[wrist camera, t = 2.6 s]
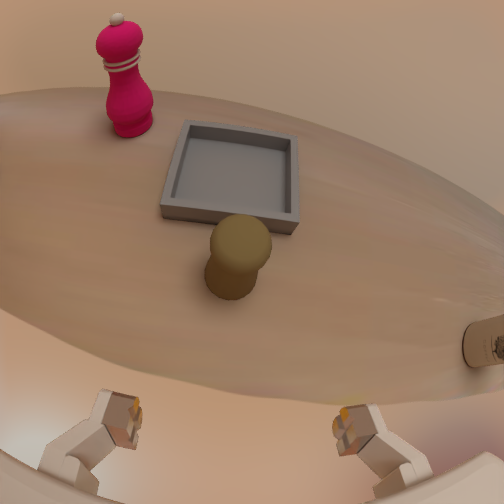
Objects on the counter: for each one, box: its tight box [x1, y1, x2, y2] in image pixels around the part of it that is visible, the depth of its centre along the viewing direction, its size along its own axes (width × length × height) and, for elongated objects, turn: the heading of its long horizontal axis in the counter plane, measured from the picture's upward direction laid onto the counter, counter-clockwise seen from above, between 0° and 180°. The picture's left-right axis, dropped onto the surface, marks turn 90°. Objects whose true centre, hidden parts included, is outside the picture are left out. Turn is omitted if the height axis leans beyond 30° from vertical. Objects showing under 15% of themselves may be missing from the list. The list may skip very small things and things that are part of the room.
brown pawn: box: [205, 214, 272, 300], centre depth 27 cm, size 6×6×11 cm
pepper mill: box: [96, 13, 153, 138], centre depth 28 cm, size 7×7×20 cm
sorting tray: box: [160, 120, 299, 235], centre depth 35 cm, size 16×14×4 cm
